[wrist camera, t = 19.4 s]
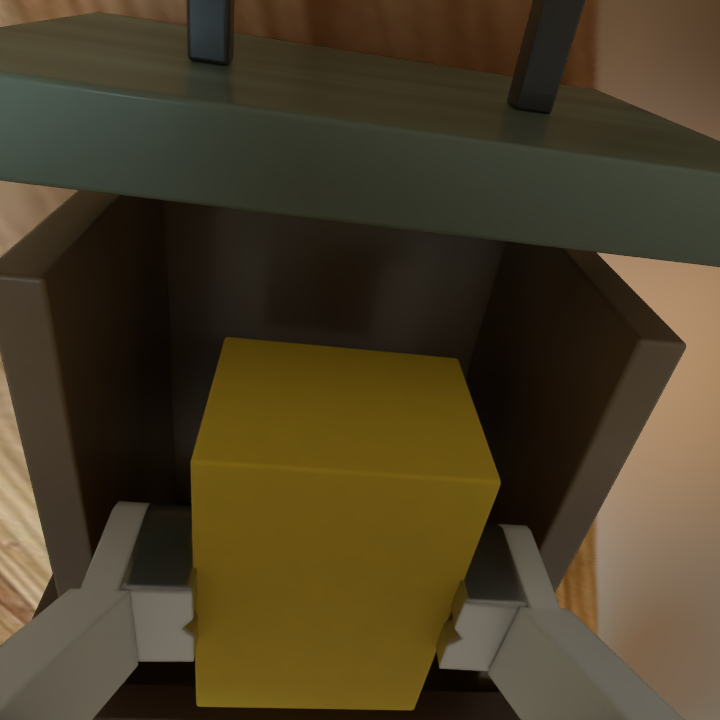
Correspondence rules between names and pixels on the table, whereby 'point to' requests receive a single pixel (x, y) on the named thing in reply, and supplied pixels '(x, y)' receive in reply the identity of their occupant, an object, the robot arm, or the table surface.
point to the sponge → (331, 523)
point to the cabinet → (182, 715)
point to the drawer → (330, 254)
